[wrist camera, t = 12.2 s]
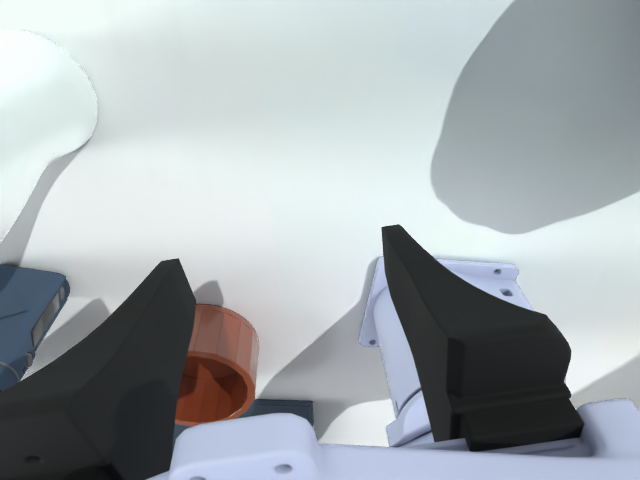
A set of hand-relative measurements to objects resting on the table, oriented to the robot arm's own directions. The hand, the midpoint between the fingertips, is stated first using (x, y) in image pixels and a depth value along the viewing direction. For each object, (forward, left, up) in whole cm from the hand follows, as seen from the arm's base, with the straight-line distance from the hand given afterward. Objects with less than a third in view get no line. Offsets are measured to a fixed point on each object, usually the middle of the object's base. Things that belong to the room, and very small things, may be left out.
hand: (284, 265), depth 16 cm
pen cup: (+5, +15, -10) cm, 19 cm away
